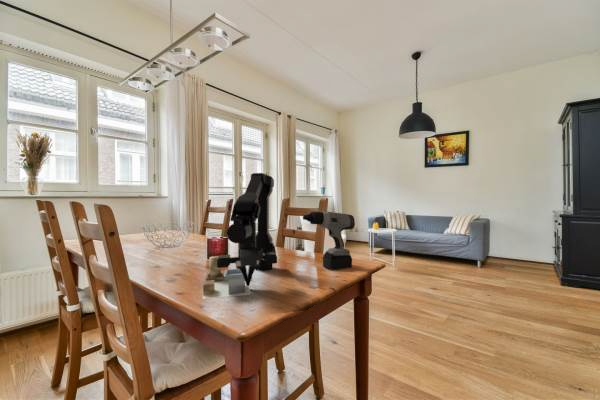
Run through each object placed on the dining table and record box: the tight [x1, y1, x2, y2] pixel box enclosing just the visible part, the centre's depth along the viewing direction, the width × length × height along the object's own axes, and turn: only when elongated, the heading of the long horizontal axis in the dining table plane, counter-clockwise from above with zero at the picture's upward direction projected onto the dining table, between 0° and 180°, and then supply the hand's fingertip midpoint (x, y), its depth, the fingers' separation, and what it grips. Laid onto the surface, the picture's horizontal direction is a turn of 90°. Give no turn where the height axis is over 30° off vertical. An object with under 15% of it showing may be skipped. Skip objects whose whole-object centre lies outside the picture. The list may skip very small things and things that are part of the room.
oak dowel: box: [208, 255, 222, 278], centre depth 96 cm, size 4×4×8 cm
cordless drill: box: [302, 210, 356, 271], centre depth 115 cm, size 8×24×25 cm, turn 113°
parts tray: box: [224, 267, 248, 281], centre depth 98 cm, size 8×8×2 cm
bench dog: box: [202, 280, 214, 296], centre depth 83 cm, size 3×4×3 cm
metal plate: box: [228, 279, 245, 295], centre depth 85 cm, size 5×7×2 cm
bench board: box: [201, 273, 251, 300], centre depth 91 cm, size 14×25×1 cm, turn 14°
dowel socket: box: [205, 271, 225, 282], centre depth 96 cm, size 6×6×2 cm
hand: (247, 285), depth 86 cm, fingers closed
